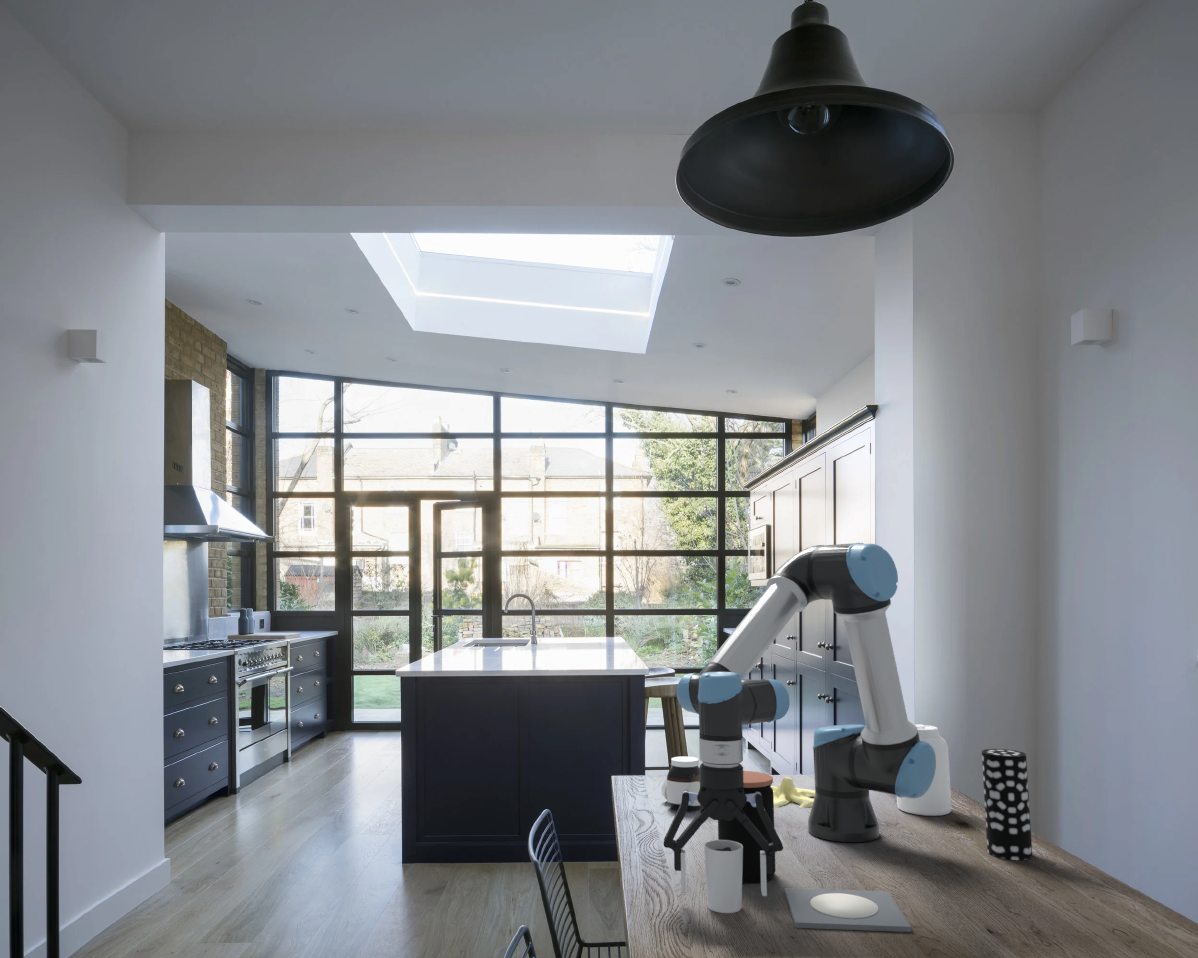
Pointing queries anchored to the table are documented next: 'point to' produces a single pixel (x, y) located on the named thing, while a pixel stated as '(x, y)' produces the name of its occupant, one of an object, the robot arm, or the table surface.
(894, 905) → the board
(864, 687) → the robot arm
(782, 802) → the cloth
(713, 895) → the white cup
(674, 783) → the spread jar
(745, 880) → the coffee jar
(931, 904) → the table surface
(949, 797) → the white bottle
